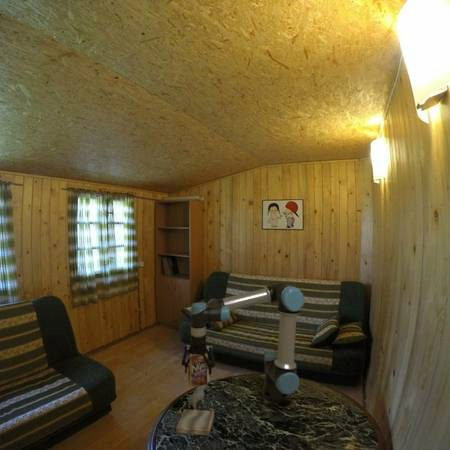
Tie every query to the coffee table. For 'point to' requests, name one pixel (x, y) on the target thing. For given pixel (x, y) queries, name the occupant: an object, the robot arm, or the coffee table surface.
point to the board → (195, 422)
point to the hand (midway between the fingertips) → (198, 380)
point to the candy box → (197, 370)
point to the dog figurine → (196, 396)
